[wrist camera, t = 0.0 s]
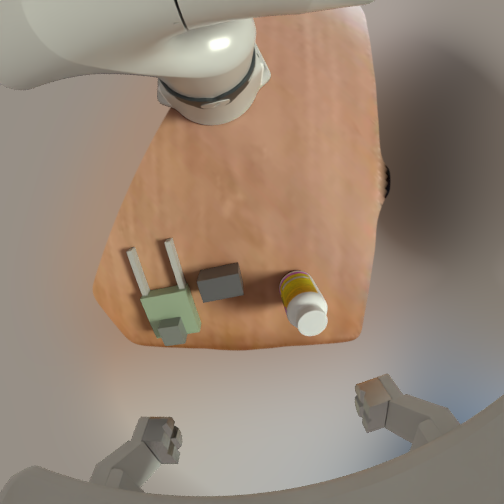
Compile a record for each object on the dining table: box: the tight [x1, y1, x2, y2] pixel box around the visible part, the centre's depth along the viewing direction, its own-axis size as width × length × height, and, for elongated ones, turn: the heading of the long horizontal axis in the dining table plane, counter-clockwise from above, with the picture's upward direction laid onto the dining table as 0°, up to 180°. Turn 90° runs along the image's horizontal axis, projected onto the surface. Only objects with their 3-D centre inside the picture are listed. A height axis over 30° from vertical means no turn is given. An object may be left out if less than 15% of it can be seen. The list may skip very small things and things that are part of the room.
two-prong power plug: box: [127, 238, 201, 346], centre depth 48 cm, size 18×9×6 cm, turn 12°
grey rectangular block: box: [197, 262, 244, 303], centre depth 48 cm, size 7×4×5 cm, turn 102°
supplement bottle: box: [279, 271, 328, 336], centre depth 46 cm, size 7×7×13 cm
